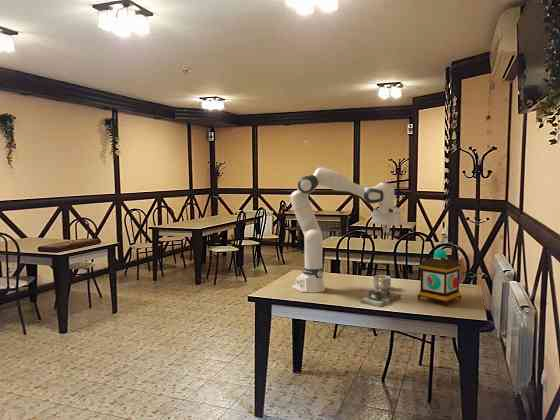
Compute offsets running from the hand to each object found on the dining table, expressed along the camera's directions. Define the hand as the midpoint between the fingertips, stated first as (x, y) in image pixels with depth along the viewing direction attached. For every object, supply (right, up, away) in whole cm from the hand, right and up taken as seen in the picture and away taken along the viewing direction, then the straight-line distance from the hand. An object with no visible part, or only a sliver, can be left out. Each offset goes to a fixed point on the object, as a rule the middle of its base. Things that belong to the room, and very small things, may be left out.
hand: (386, 232), depth 258 cm
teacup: (0, -37, +13) cm, 39 cm away
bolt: (-9, -35, -16) cm, 40 cm away
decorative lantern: (+26, -38, -15) cm, 49 cm away
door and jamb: (-6, -38, -13) cm, 41 cm away
